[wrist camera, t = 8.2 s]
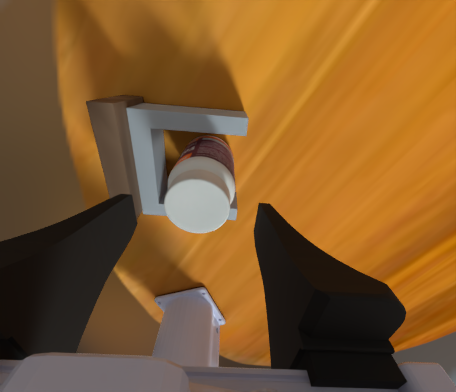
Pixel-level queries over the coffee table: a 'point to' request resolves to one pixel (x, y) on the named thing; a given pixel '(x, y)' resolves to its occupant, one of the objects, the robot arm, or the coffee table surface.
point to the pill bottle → (201, 186)
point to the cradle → (155, 149)
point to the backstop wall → (116, 145)
